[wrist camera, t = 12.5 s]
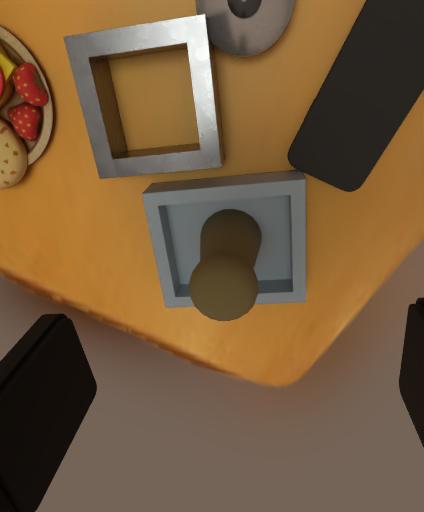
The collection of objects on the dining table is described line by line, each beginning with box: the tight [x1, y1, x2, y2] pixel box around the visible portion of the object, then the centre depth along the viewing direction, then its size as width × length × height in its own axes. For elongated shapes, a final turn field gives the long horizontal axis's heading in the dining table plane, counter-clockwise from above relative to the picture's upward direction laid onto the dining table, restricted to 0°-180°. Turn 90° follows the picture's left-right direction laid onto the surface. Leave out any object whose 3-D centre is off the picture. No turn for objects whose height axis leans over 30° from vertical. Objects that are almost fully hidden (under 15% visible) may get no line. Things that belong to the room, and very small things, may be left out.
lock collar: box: [64, 0, 295, 179], centre depth 28 cm, size 17×15×4 cm
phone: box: [288, 0, 424, 192], centre depth 29 cm, size 7×1×15 cm
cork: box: [189, 209, 262, 321], centre depth 30 cm, size 6×6×11 cm
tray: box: [142, 170, 306, 308], centre depth 34 cm, size 14×12×4 cm
